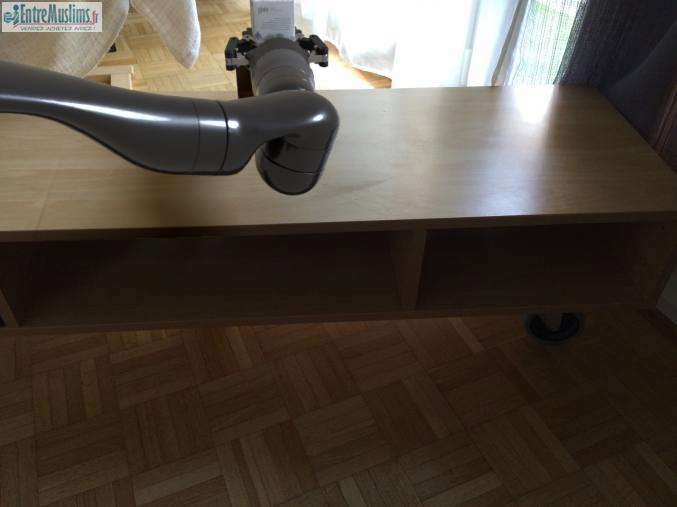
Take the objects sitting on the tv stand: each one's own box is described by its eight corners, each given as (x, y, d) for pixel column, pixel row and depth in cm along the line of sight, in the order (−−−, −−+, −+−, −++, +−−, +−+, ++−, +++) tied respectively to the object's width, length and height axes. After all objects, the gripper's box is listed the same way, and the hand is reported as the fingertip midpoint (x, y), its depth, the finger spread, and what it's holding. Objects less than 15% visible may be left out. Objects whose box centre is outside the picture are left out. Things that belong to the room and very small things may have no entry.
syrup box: (292, 84, 94) (289, -16, 85) (296, 101, 89) (294, -4, 80) (254, 86, 93) (248, -15, 84) (257, 103, 88) (250, -3, 79)
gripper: (225, 111, 76) (223, 60, 89) (339, 105, 78) (320, 57, 91) (219, 51, 72) (218, 7, 85) (340, 47, 74) (321, 5, 87)
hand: (271, 33), depth 88 cm, fingers closed on syrup box, 5 cm apart
